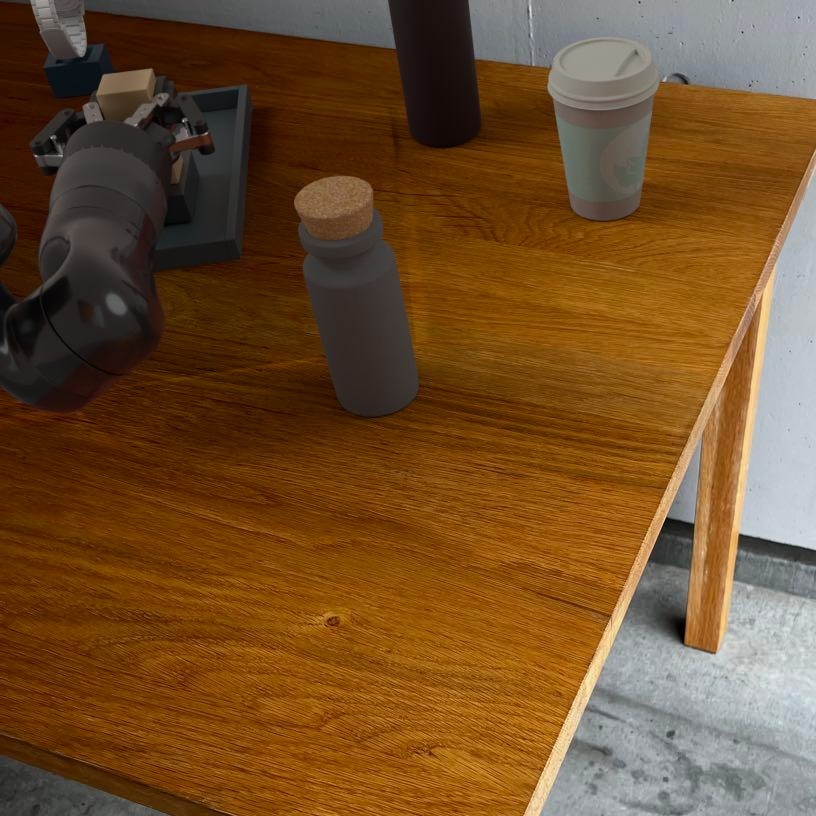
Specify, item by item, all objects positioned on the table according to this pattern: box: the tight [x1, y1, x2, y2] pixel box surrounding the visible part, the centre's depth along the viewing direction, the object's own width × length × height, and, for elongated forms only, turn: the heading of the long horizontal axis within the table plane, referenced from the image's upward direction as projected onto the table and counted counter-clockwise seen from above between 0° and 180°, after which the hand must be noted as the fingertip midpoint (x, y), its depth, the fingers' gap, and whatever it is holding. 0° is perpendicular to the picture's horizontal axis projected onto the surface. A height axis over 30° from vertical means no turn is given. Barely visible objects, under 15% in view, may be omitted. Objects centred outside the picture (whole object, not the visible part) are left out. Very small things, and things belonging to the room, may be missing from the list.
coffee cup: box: [547, 36, 660, 222], centre depth 83 cm, size 8×8×12 cm
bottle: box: [293, 175, 420, 418], centre depth 68 cm, size 6×6×15 cm
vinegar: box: [387, 0, 482, 148], centre depth 90 cm, size 7×7×20 cm
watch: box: [30, 0, 116, 99], centre depth 105 cm, size 6×8×11 cm
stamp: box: [96, 68, 199, 224], centre depth 87 cm, size 5×8×10 cm, turn 8°
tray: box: [152, 84, 255, 272], centre depth 93 cm, size 14×28×2 cm, turn 8°
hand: (137, 91), depth 87 cm, fingers closed on stamp, 4 cm apart
